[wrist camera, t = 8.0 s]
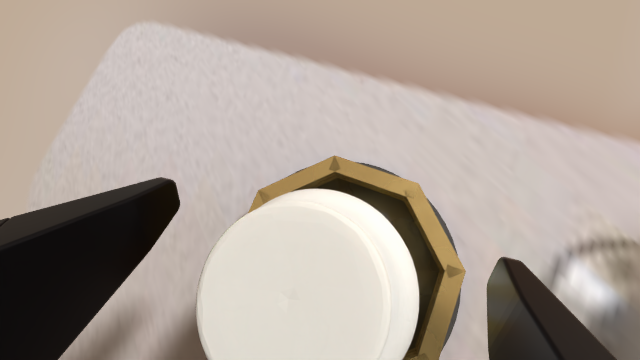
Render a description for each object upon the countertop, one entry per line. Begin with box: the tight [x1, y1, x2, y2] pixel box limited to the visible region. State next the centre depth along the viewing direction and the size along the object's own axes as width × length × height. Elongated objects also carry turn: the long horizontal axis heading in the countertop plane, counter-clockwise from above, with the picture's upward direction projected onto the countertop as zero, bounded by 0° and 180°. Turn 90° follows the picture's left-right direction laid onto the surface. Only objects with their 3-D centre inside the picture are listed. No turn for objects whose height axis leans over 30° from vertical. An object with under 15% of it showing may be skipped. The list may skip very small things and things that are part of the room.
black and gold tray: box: [248, 156, 466, 360], centre depth 16 cm, size 12×12×2 cm
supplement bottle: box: [196, 189, 419, 360], centre depth 11 cm, size 6×6×10 cm
